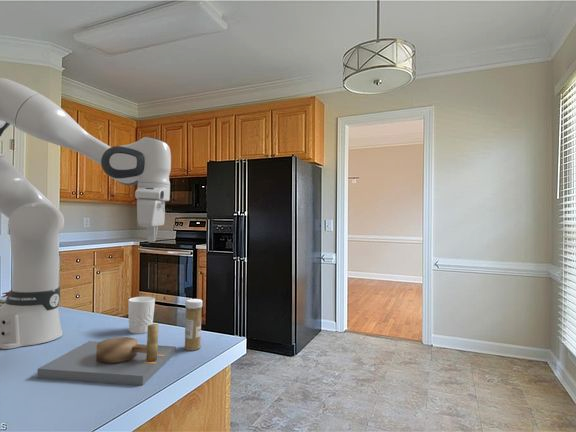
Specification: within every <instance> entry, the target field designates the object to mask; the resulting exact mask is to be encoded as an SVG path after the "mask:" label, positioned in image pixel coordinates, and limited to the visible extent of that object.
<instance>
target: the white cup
mask: <svg viewBox="0 0 576 432" xmlns="http://www.w3.org/2000/svg"><path fill="white" fill-rule="evenodd" d="M127 303H128V306H127V307H128V315H127V316H128V317H127V318H128V332H129V333H130V334H133V335H134V334H137V335H141V334H147V333H148V325H150V324H153V322H154V313H155V304H156V298H155V297H154V296H135V297H131V298H129V299H128V300H127Z"/></svg>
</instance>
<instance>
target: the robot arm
mask: <svg viewBox="0 0 576 432" xmlns="http://www.w3.org/2000/svg"><path fill="white" fill-rule="evenodd" d="M10 125H11V126H12V127H14V128H15V129H17V130H20V132H23V133H25V134H27V135H30V136H31V137H34V138H36V139H39V140H42V141H44V142H48V143H50V144H54V145H56V146H60V147H63V148H66V149H69V150H71V151H74V152H77V153H78V154H81V155H82V156H85V157H86V158H88V159H90V160H91V161H93V162H95V163H97V164H98V165H100V166H101V168H102V170H103V172H104V173H105V174H106V175H107V176H108V177H110V178H111V179H113V180H115V181H117V182H118V183H120V184H121V185H123V186H129V187H130V186H131V187H132V186H135V185H137V187H136V190H135V192H134V197H135V199H137V200H136V213H137V214H136V215H137V220H136V221H137V224H138V227H145V228H146V235H147V242H148V243H154V242H156V240H157V234H158V228H159V227H161V226H164V225H165V217H166V215H165V214H166V213H165V212H166V209H165V207H166V202H169V201H170V198H171V197H170V196H171V195H170V194H171V182H170V174H171V172H172V171H171V169H172V155H171V148H170V146H169V144H168V143H167V142H165V141H163V140H162V139H159V138H156V137H150V136H144V137H142V138H141V139H139V140H137V141H135V142H131V143H127V144H123V145H116V146H110V145H108V144H107V143H105V142H103V141H102V140H100V139H98V138H96V137H94V136H93V135H92V134H90V133H89V132H88V131H86V130H85V129H84V128H83V127H82V126H81V125H79V123H78V122H77V121H76V120H74V118H73V117H71V115H69V113H67V112H66V111H65V110H64V109H63V108H62V107H61V106H59V105H58V104H57V103H56V102H54V101H52V100H51V99H50V98H48V97H46V96H45V95H43V94H41V93H39V92H38V91H36V90H34V89H32V88H30V87H29V86H26V85H24V84H21V83H18V82H17V81H15V80H11V79H9V78H4V77H0V137H1V136H2V135H3V133H4V131H6V130H7V129H8V128H9V127H10ZM0 213H1V214H2V215H4V216H5V217H6V218H8V223H7V224H8V230H9V238H10V239H9V240H10V247H11V254H12V276H11V279H12V280H11V281H12V282H11V289H10V290H9V291H8V292H7V291H6V292H2V293H1V295H2V296H1V298H5V297H6V299H5V301H4V303H3V304H2V305H0V349H2V350H9V349H15V348H20V347H25V346H34V345H40V344H43V343H48V342H52V341H54V340H57V339H59V338H60V337H62V336H63V335H64V332H63V329H62V326H61V320H60V311H59V306H60V300H61V288H60V284H59V283H60V263H61V259H60V252H59V235H60V233H61V232H62V231H63V229H64V227H65V217H64V214H63V213H62V212H61V210H59V209H58V207H57V206H55V204H54V203H52V201H50V200H49V199H48V198H47V197H46V196H45V195H44V194H43V193H42V192H41V191H40V190H39V189H38V188H37V187H35V186H34V185H33V184H32V183H31V182H30V180H28V179H26V177H25V176H24V175H23V174H22V173H21V172H20V171H19V170H18V169H17V168H16V166H14V164H13V163H11V162H10V161H9V160H8V158H7V157H6V156H5V155H4V154H3V153H2V152H0Z"/></svg>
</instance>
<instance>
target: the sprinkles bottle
mask: <svg viewBox="0 0 576 432" xmlns="http://www.w3.org/2000/svg"><path fill="white" fill-rule="evenodd" d="M202 308H203V300H202V299H200V298H190V299H186V300H185V323H184V349H185V350H187V351H197V350H199V349H200V348H201V340H202V339H201V336H202Z"/></svg>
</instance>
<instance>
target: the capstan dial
mask: <svg viewBox="0 0 576 432" xmlns="http://www.w3.org/2000/svg"><path fill="white" fill-rule="evenodd" d="M146 334H147V336H146V338H147V339H146V344H144V345H139V344H140V343H139V341H138V340H137V338H134V337H130V336H129V337H128V336H118V337H112V338H107V339H104V340H101V341H98V342H99V343H98V344H97V350H96V360H97V361H99V362H103V363H117V362H123V361H127V360H130V359H132V358H134V357H135V356H136V355H137V352H139V353H147V356H146V360H147V361H154V360H156V359H157V348H158V343H159V324H158V323H152V324H150V325H148V332H147V333H146Z"/></svg>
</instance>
